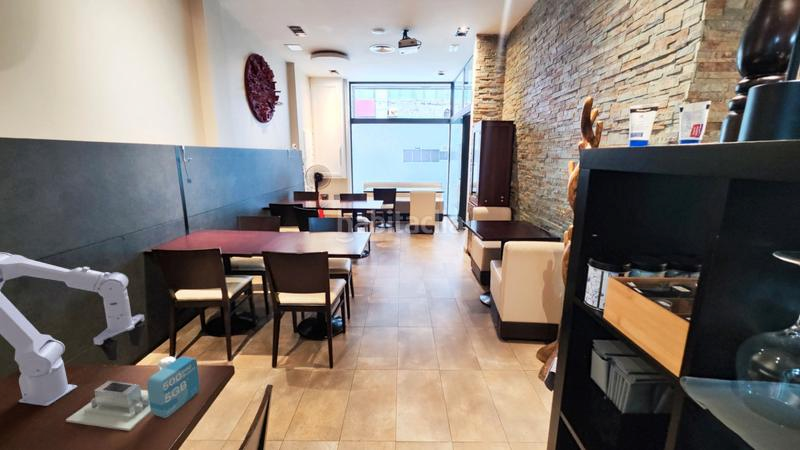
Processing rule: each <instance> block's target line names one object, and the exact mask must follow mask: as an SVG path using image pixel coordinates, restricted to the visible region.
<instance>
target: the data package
mask: <svg viewBox="0 0 800 450" xmlns="http://www.w3.org/2000/svg"><path fill="white" fill-rule="evenodd" d="M198 369H199V368H198V360H197V359H196V358H194V357H193V358H192V357H189V356H183V355H182V356H180V357H178V358H176V360H175V361H174V362H172V363H171V364H169V365H168V366H166V367H165V368H163V369H162V370H159V371H157V372H156V373H154V374H153V375H151V376H150V377H149V378H148V380H147V381H146V386H147V387H146V388H147V389H146V390H147V391H148V396H149V402H150V409H151V413H150V414H151V415H153V416H157V417H161V418H164V419H167V418H169V417H170V416H171V415H173V414H174V413H175V412H176V411H178V410H179V409H180V408H181V407H182V406H184V405H185V404H186V403H187V402H188V401H190V400H191V399H192V398H193V397H194V396H195V395H197V394H198V393H199V390H200V387H201V386H200V379H199V370H198Z"/></svg>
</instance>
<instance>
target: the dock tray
mask: <svg viewBox="0 0 800 450" xmlns="http://www.w3.org/2000/svg"><path fill="white" fill-rule="evenodd" d="M141 395H142V404H140V403H138V404H136V405H134V410H133V411H132V412H131V413H123V412H116V411H109V410H102V409H98V408H97V402H96V397H93V398H91V400H90V402H88V403H87V404H86V405H84V406H83V407H82V408H80V409H78V410H77V411H76V412H74V413H73V414H72V415H70V416H69V417H67V418H66V419H65V422H67V423H73V424H81V425H87V426H94V427H101V428H108V429H115V430H122V431H128V432H131V431H132V430H133V429H134V428H135V427H136V426H137V425H139V424H140V423H141V421H143V420H144V419H145V418H146V417H147V416H149V415H150V414H151V409H150V402H149V396H148V389H141Z"/></svg>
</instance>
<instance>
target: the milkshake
mask: <svg viewBox="0 0 800 450" xmlns="http://www.w3.org/2000/svg"><path fill="white" fill-rule="evenodd" d="M177 355H178V351H176V352H175V355H174V356H167V357H163V358H162V359H161V358H160V360H159V361H158V363H157V366H158V369H159V371H160V370H162V369H163V368H165V367H166V366H168V365H169V364H171V363H172V362H174V361H175V360H177Z"/></svg>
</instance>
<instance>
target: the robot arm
mask: <svg viewBox="0 0 800 450" xmlns="http://www.w3.org/2000/svg"><path fill="white" fill-rule="evenodd" d="M90 268H91V267H89V266H82V267H75V268H73V269H69V268H65V267H61V266H57V265H53V264H49V263H45V262H41V261H37V260H34V259H30V258H27V257H25V256H23V255H21V254H12V253H9V252H5V251H4V252H1V251H0V290H1V289H2V288H3V286H4V283H5V282H6V281H8V280H12V279H15V278H19V277H24V276H26V277H32V278H40V279H46V280H53V281H58V282H63V283H65V284H66V286H67V287H69V288H74V289H78V290H79V289H80V290H84V291H89V292H94V293H98V295H99V296H101V297H102V299H103V306H104V313H105V318H106V324H107V328H106V329H104V330H103V331H102V332H101V333H99V334H98V335H97V336H95V337H93V344H94V345H96V346H97V347H98V348H99V349H101V351H102V352H103V353H104V354H105V356H106V357H107V359H108V361H116V360H117V359H118V355H117V345H118V342H119V341H118V340H115V339H113V337H115V336H116V335H119V334H121V333H124V332H126V331H127V333H128V336H129V340H130V345H131V346H132V347H133V346H134V347H139V346H140V343H141V337H142V334H143V332H144V330H145V327H146V325H147V324H146V322H144V321H145V315H144V314H141V313H140V314H136V315H134V316H132V313H131V312H132V311H131V305H130V298H129V295H128V289H127V287H128V285H129V277H128V276H127V275H126V274H124V273H121V272H119V271H118V272H117V271H116V272H112V273H111V272H109V271H108V272H107V271H106V272H102V271H97V270H93V269H90ZM0 336H2V337H3V338H4V339H5V341H7V342H8V343H9V344H10V345H11V346H12V347H13V348H14V349H15V351H14V352H15V353H14V361H15V362H16V363H17V365H18V368H19V372H20V373H21V374H20V376H19V378H18V384H19V388H20V392H21V396H22V398H21V399H19V400H18V402H19V403H24V404H31V405H35V406H36V405H37V406H38V405H39V406H45V407H47V406H49V405H52V404H54V403H55V402H56V401H57V400H59V399H60V398H62V397H64V396H65V395H67V394H69V393H70V392H71V391H73V390H74V389H76V388H78V385H76V384H70V383H69V384H68V378H67V373H66V368H65V363H64V360H63V359H62V355H63V354H64V353H65V351H66V346H65V344H64V343H63V342H62V341H59V340H57V339H55V338H53V337H52V336H51V335H50V334H42V333H40V332H39V331H38V329H36V327H35V326H34V325H33V324H32V323H31V322H30V321H29V320H28V319H27V318H26V317H25V315H23V314H22V313H21V312H20V310H19V309H18V308H17V307H16V306H15V305H14V304H13V303H12V302H11V301H10V300H9V299H8V298H7V297H6V296H5V295H4V294H3V293H2V291H0Z"/></svg>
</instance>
